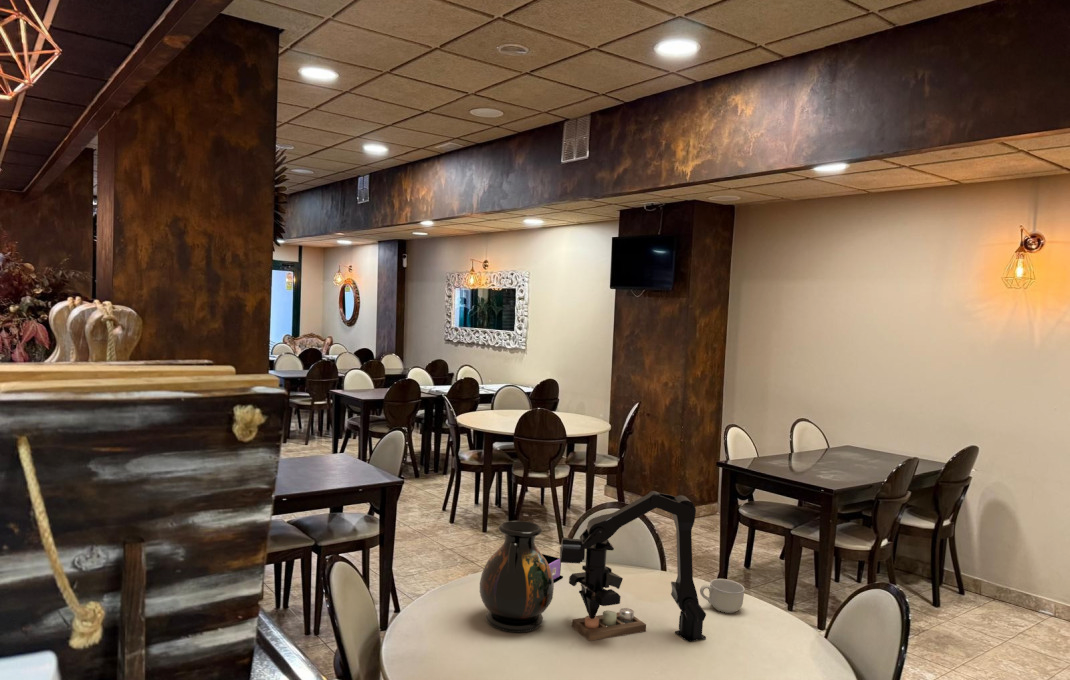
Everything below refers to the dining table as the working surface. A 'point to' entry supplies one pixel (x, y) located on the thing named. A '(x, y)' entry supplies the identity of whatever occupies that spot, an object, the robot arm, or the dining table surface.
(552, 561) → the dollhouse room
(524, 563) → the amphora vase
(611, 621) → the sage button
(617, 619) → the button panel
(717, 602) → the teacup
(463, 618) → the dining table surface
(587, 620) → the terracotta button
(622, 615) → the grey button
